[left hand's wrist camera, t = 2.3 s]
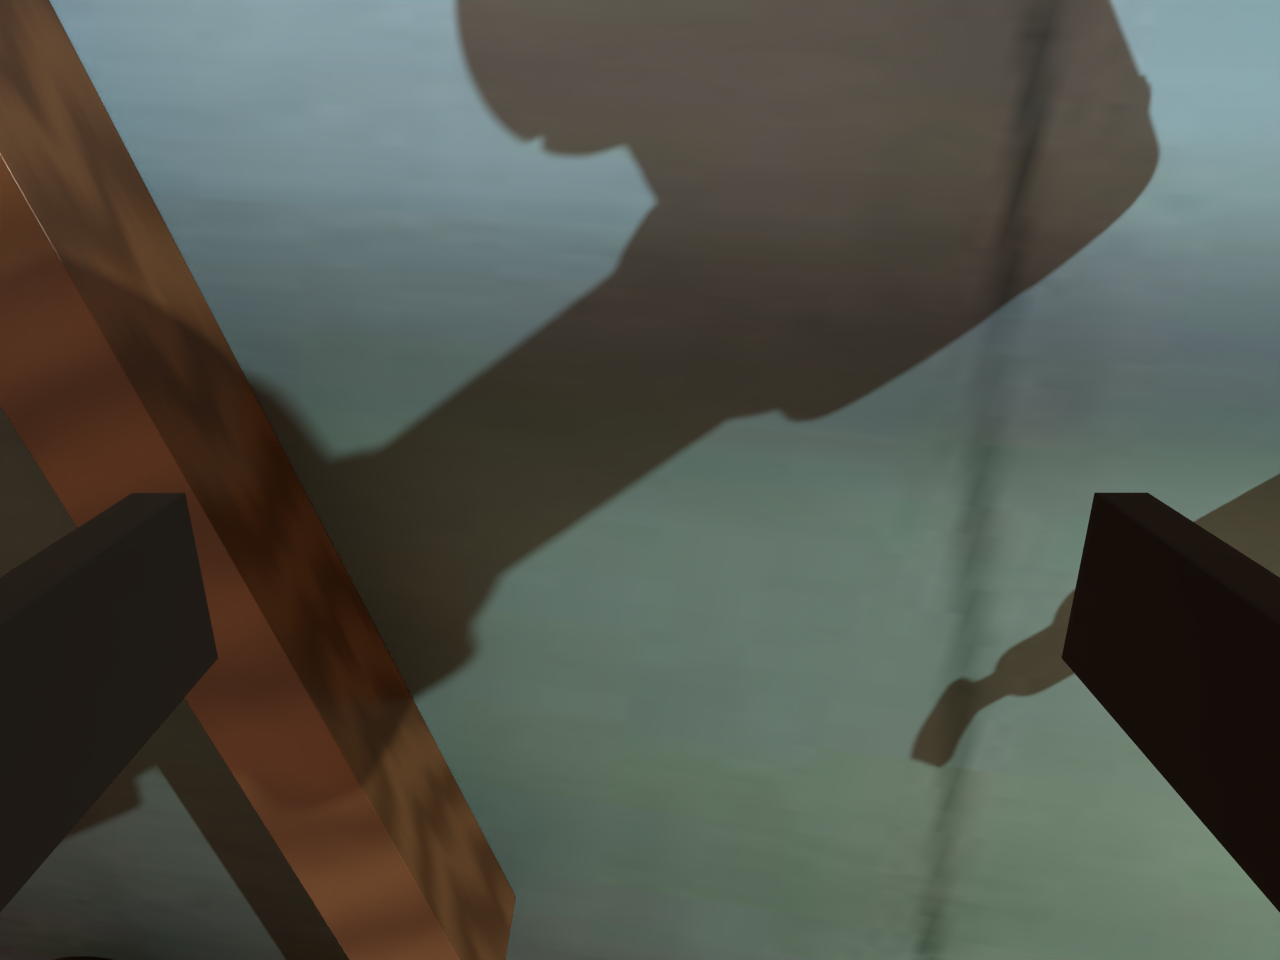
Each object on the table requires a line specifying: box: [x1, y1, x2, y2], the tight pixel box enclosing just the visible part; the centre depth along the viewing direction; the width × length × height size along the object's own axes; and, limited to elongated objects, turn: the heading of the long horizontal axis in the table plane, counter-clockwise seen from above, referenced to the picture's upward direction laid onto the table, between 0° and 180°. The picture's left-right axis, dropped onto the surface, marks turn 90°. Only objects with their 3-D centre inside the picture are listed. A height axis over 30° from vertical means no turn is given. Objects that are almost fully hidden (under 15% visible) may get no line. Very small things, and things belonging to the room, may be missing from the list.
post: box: [0, 0, 516, 960], centre depth 33 cm, size 81×5×8 cm, turn 19°
